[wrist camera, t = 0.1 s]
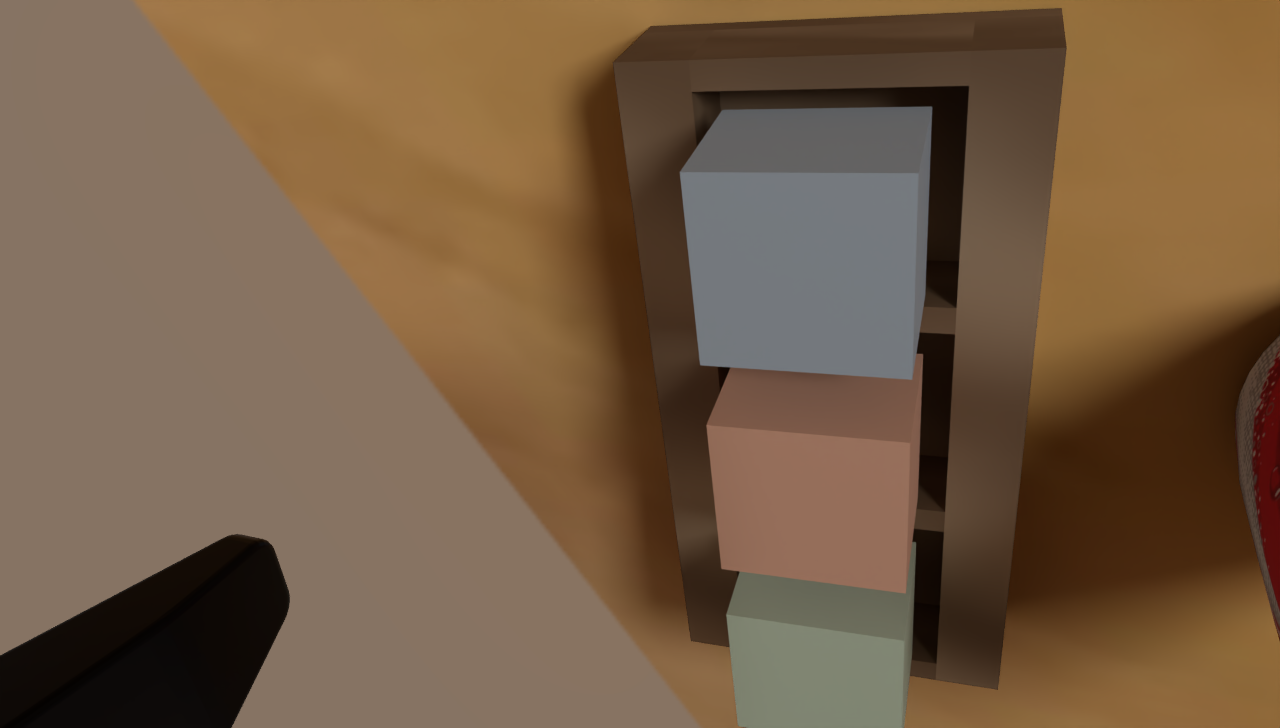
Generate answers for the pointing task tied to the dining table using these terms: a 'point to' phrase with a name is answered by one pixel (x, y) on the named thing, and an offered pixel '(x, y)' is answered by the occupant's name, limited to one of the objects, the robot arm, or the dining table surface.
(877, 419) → the button terracotta
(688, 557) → the brown wooden compartment tray
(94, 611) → the robot arm
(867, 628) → the button sage
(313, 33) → the dining table surface
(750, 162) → the button slate
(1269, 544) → the soda can
